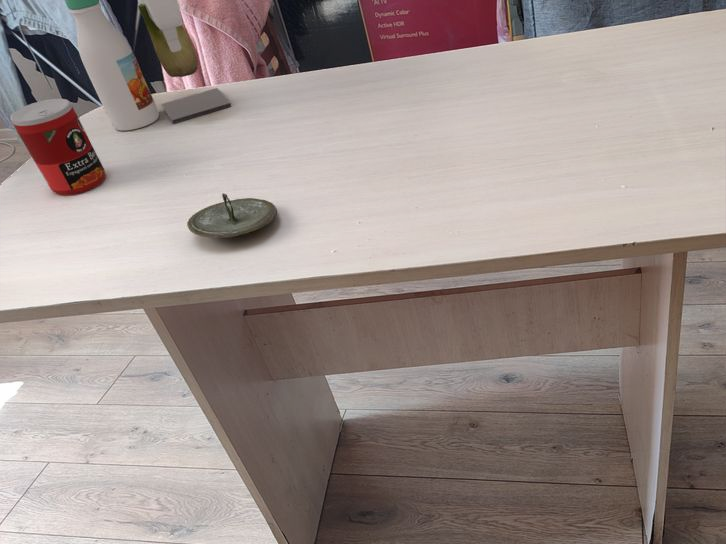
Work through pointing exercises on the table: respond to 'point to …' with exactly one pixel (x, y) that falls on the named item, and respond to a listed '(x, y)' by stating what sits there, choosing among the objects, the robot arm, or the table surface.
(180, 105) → the coaster
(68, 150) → the canned food
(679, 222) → the table surface
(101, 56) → the milk bottle
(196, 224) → the lid
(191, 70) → the fennel bulb
